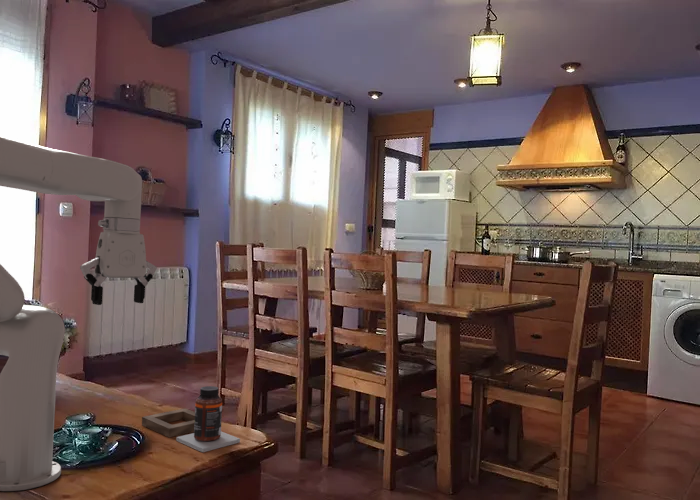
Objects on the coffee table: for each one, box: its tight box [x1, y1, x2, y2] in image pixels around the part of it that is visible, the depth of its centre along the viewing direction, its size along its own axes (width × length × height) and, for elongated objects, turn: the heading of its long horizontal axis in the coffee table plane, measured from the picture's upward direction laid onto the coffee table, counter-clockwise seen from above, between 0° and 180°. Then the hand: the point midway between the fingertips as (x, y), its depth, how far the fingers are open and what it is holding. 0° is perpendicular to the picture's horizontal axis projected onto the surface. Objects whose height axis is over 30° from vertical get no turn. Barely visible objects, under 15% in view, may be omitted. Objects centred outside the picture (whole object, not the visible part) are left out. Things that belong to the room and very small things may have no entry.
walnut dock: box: [141, 407, 195, 438], centre depth 141 cm, size 12×12×2 cm
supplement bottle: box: [193, 385, 223, 442], centre depth 131 cm, size 6×6×11 cm
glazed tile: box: [175, 430, 241, 453], centre depth 132 cm, size 10×10×1 cm
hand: (118, 303), depth 130 cm, fingers open, 9 cm apart
